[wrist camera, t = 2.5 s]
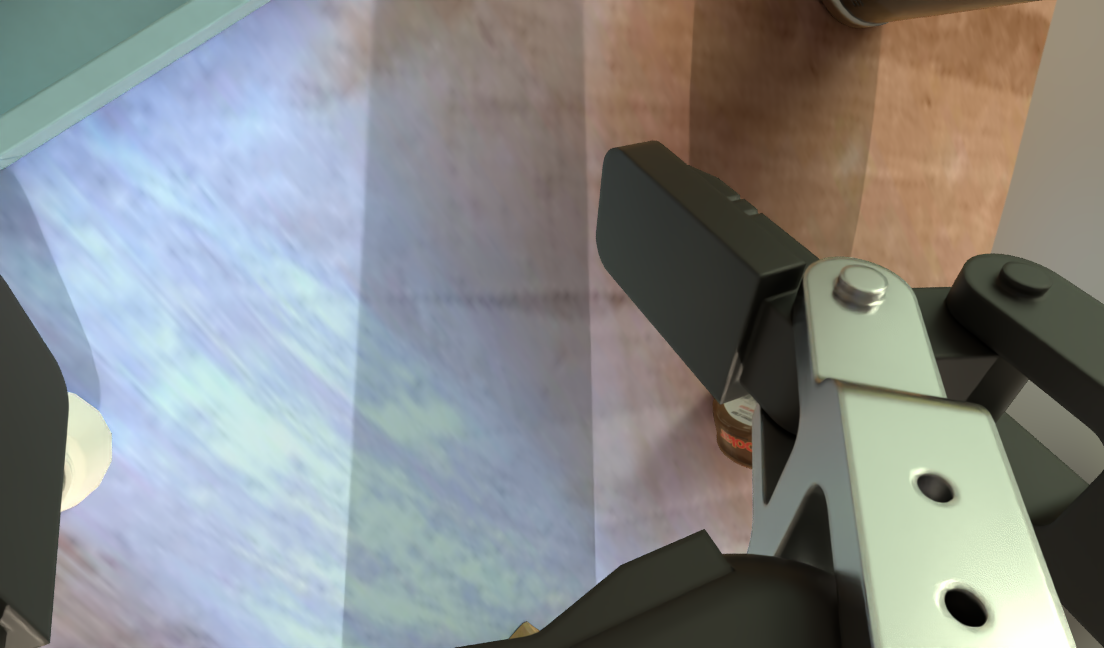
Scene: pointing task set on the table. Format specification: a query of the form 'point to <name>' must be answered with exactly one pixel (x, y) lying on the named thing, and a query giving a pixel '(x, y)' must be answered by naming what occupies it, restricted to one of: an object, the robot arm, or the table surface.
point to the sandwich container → (524, 630)
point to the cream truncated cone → (84, 452)
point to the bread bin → (90, 57)
